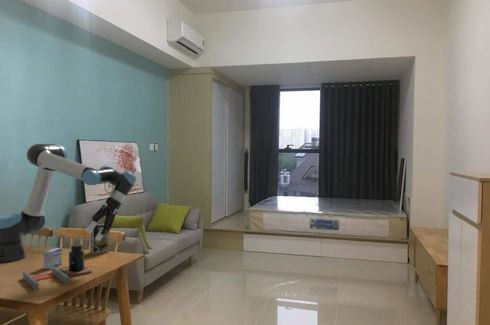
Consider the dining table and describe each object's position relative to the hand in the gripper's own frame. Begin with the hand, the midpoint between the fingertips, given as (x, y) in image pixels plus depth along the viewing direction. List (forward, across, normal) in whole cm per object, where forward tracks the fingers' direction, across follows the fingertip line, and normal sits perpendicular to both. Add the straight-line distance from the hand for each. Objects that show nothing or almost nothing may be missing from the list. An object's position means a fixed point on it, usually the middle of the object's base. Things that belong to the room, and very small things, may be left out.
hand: (92, 236), depth 197 cm
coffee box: (+8, +24, -21) cm, 33 cm away
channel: (+25, -9, +12) cm, 29 cm away
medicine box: (+22, +11, +4) cm, 25 cm away
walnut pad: (+18, -4, -1) cm, 18 cm away
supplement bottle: (+17, -4, 0) cm, 17 cm away
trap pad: (+26, -3, +12) cm, 29 cm away
